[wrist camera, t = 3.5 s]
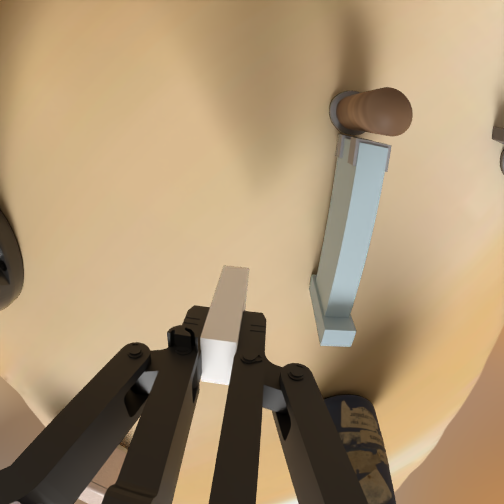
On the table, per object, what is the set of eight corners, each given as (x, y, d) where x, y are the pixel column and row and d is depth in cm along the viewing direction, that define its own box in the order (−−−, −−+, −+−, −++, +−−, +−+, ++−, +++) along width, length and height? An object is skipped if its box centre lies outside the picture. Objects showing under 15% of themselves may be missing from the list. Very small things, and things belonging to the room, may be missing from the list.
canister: (385, 391, 33) (420, 517, 16) (351, 432, 36) (368, 541, 20) (317, 384, 32) (333, 532, 16) (289, 426, 36) (291, 548, 20)
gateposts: (326, 130, 21) (355, 136, 14) (332, 76, 19) (364, 56, 12) (516, 182, 21) (569, 207, 14) (523, 141, 19) (578, 158, 12)
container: (160, 458, 43) (146, 512, 33) (135, 478, 50) (123, 519, 39) (68, 412, 40) (43, 463, 29) (62, 441, 47) (44, 481, 36)
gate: (334, 133, 21) (364, 140, 14) (362, 138, 21) (402, 148, 14) (308, 288, 26) (320, 345, 20) (333, 290, 26) (350, 346, 20)
